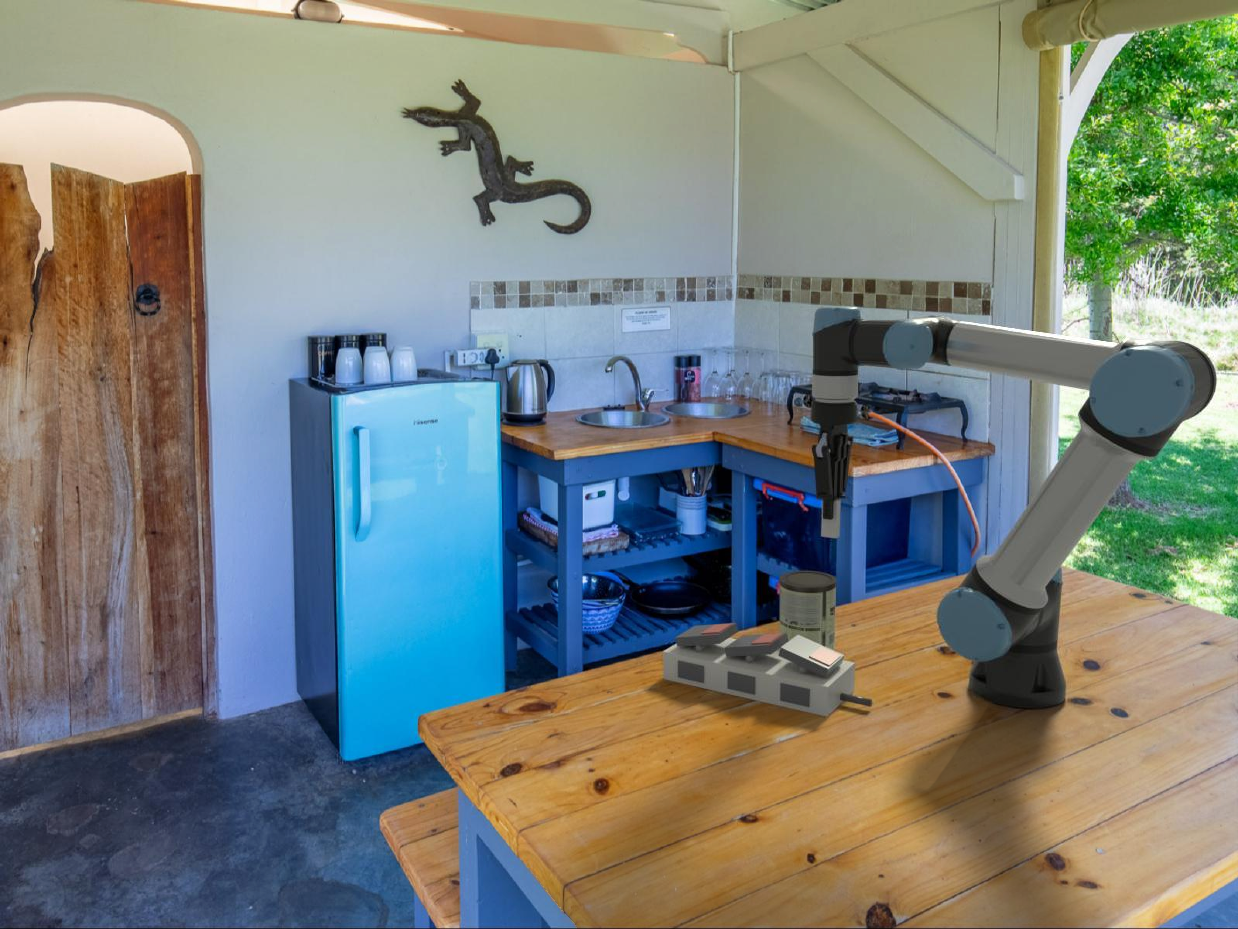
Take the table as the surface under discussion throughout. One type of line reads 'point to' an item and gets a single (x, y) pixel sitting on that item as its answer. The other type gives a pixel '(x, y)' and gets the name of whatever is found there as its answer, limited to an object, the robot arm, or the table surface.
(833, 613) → the coffee can
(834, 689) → the power strip
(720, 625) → the rocker
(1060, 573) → the robot arm
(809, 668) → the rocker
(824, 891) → the table surface
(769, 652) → the rocker
